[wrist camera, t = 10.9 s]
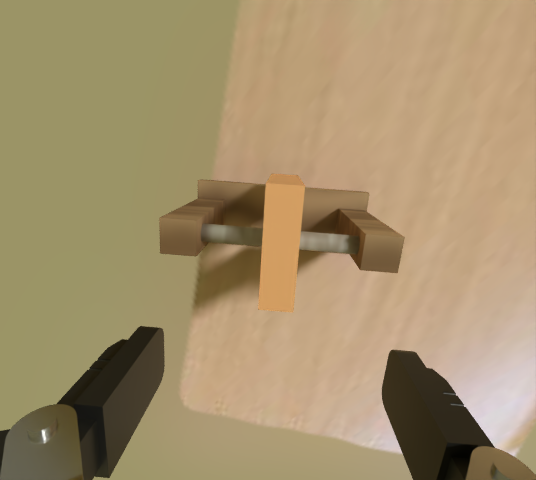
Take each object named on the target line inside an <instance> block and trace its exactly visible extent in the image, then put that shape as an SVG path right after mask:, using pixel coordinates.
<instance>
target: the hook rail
mask: <svg viewBox="0 0 536 480" xmlns="http://www.w3.org/2000/svg"><path fill="white" fill-rule="evenodd" d="M265 188H266V184H253V183H240V182H227V181H214V180H198V199H196V200H194V201H192V202H190V203H188V204H186V205H184V206H182V207H180V208H178V209H176V210H174V211H172V212H170V213H168V214H166V215H164V216H162V217H160V253H162V254H175V255H186V256H197V255H198V254H199V253H200V252H201V250H202V249H203V248H204V247H205V246H206V245H207V244H208V242H213V243H225V244H237V245H249V246H261V247H262V238H263V221H264V205H265ZM368 200H369V193H368V192H358V191H345V190H332V189H319V188H306V187H305V192H304V203H303V214H302V224H301V235H300V245H299V250H310V251H322V252H335V253H347V254H350V256H351V257H352V259H353V260H354V262H355V263H356V265H357V266H358V268H359V269H360V270H366V271H378V272H390V273H398V268H399V263H400V258H401V253H402V248H403V243H404V238H405V237H403V236H402V235H400V234H399V233H397V232H396V231H394V230H393V229H391V228H390V227H389V226H387V225H386V224H384V223H383V222H381V221H380V220H378V219H377V218H375V217H374V216H372V215H371V214H369V213H368V212H367V206H368Z"/></svg>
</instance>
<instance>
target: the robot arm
mask: <svg viewBox="0 0 536 480" xmlns="http://www.w3.org/2000/svg"><path fill="white" fill-rule="evenodd" d="M163 373H164V333H163V329H162V328H155V327H144V326H140V327H139V328H138V329H137V330H136V331H135V332H134V333H133V334H132V336H131V337H130V338H129V339H128V340H124V339H122V340H120V341H119V342H117V343H115V344H113V345H112V346H110V347H108V348H107V349H106V350H105V351H104V353H103V354H102V355H101V356H100V357H99V358H98V360H97V361H95V362H94V363H93V365H92V366H91V367H90V369H89V370H87V371H86V372H85V373H84V374H83V376H82V377H81V378H80V379H79V380H78V381H77V382H76V383H75V384H74V385H73V386H72V387H71V389H70V390H69V391H68V392H67V393H66V394H65V395H64V396H63V397H62V398H61V400H60V401H59V402H58V403H57V404H54V405H49V406H45V407H42V408H39V409H37V410H35V411H33V412H31V413H29V414H27V415H26V416H24V417H23V418H21V419H20V420H19V421H18V422H17V423H16V424H15V425H14V426H13V427H12V428H11V429H9V430H4V431H0V480H92V479H93V478H94V476H95V477H104V478H110V476H111V474H112V472H113V470H114V468H115V466H116V465H117V463H118V461H119V459H120V457H121V455H122V454H123V452H124V450H125V448H126V446H127V444H128V442H129V441H130V439H131V436H132V435H133V433H134V431H135V429H136V428H137V426H138V424H139V422H140V420H141V418H142V417H143V415H144V413H145V411H146V409H147V407H148V405H149V404H150V402H151V400H152V398H153V396H154V394H155V393H156V391H157V389H158V387H159V385H160V383H161V380H162V377H163ZM382 400H383V405H384V408H385V410H386V413H387V415H388V418H389V420H390V423H391V425H392V428H393V430H394V433H395V435H396V438H397V440H398V443H399V445H400V448H401V450H402V453H403V455H404V458H405V460H406V463H407V465H408V468H409V470H410V473H411V475H412V478H413V480H536V475H535V474H534V473H533V472H532V471H531V470H530V469H529V468H528V467H527V466H526V465H525V464H523V463H522V462H521V461H519V460H518V459H517V458H515V457H514V456H512V455H510V454H508V453H506V452H504V451H502V450H499V449H497V448H495V447H494V446H493V444H492V443H491V441H490V440H489V439H488V437H487V436H486V434H485V433H484V432H483V430H482V429H481V428H480V426H479V425H478V423H477V422H476V421H475V419H474V418H473V417H472V415H471V414H470V412H469V411H468V410H467V408H466V407H464V404H463V403H462V401H461V400H460V399H459V397H458V396H456V393H455V392H454V390H453V389H452V387H451V386H450V385H449V383H448V382H447V381H446V380H445V379H444V378H443V377H442V376H440V375H439V374H438V373H437V372H436V371H434V370H433V369H430V368H426V366H425V365H424V363H423V362H422V360H421V359H420V357H419V356H418V355H417V353H416V352H412V351H401V350H391V351H390V353H389V356H388V361H387V366H386V371H385V376H384V380H383V385H382Z"/></svg>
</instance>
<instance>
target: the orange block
mask: <svg viewBox="0 0 536 480" xmlns="http://www.w3.org/2000/svg"><path fill="white" fill-rule="evenodd" d="M304 192H305V185H304V184H303V182H302V181H301V179H300V178H299V177H298V175H283V174H271V176H270V178H269V179H268V181H267V182H266V188H265V205H264V221H263V238H262V255H261V272H260V288H259V305H258V310H270V311H283V312H293V309H294V299H295V288H296V277H297V267H298V256H299V245H300V235H301V224H302V214H303V203H304Z"/></svg>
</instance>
